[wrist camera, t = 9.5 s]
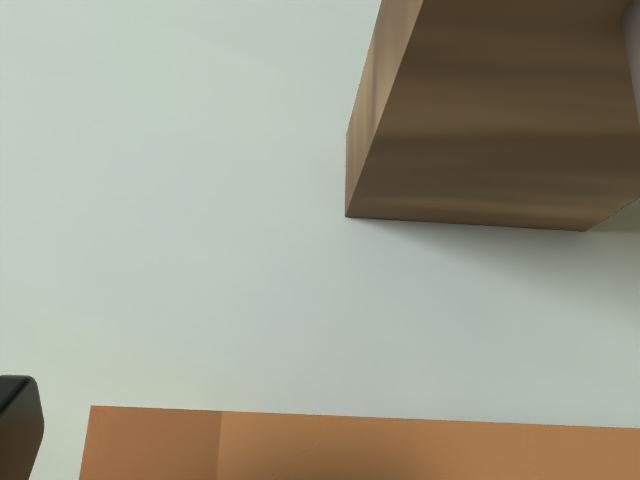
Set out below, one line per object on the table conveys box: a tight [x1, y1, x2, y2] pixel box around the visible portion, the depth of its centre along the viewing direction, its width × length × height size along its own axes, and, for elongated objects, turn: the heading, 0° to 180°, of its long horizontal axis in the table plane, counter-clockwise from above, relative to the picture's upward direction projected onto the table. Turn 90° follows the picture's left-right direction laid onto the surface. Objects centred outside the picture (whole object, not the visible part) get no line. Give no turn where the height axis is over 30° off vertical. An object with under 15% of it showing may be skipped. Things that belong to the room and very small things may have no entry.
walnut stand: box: [345, 0, 640, 231], centre depth 12 cm, size 9×8×12 cm
